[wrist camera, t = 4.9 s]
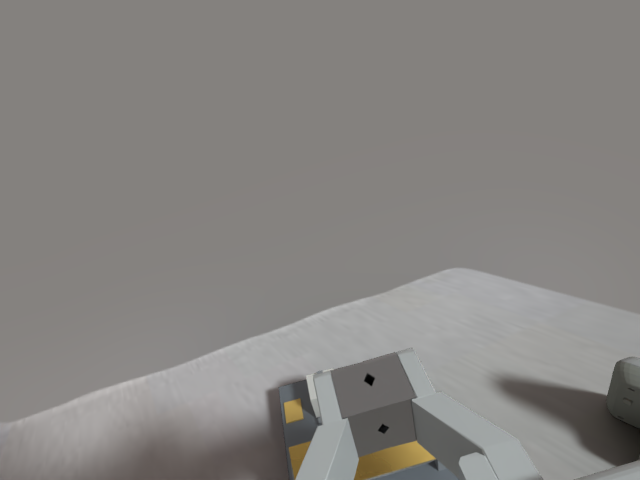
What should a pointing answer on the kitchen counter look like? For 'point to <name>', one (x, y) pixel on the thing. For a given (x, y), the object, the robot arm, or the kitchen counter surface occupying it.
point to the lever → (375, 460)
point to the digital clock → (625, 392)
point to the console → (303, 424)
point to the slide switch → (312, 391)
